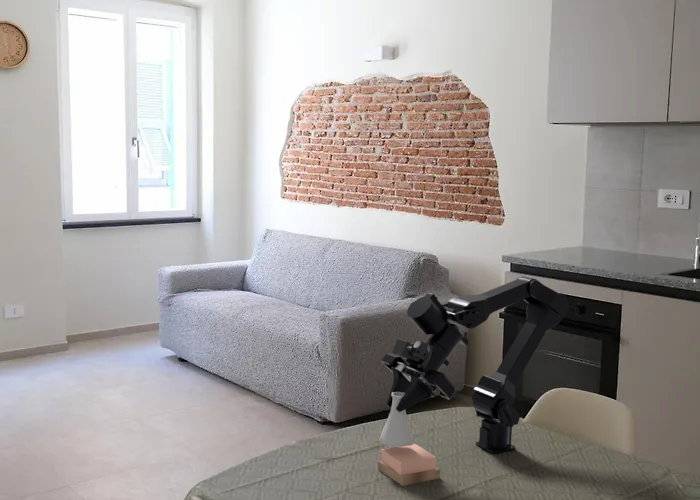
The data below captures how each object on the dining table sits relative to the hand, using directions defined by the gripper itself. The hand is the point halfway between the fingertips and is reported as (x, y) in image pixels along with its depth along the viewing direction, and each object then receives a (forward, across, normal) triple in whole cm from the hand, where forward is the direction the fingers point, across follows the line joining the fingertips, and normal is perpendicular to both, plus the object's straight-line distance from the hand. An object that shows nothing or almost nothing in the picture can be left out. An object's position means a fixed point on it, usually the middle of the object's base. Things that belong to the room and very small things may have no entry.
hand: (392, 408), depth 163 cm
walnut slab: (+8, +3, +11) cm, 14 cm away
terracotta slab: (+7, +3, +10) cm, 12 cm away
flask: (+4, 0, +6) cm, 8 cm away
